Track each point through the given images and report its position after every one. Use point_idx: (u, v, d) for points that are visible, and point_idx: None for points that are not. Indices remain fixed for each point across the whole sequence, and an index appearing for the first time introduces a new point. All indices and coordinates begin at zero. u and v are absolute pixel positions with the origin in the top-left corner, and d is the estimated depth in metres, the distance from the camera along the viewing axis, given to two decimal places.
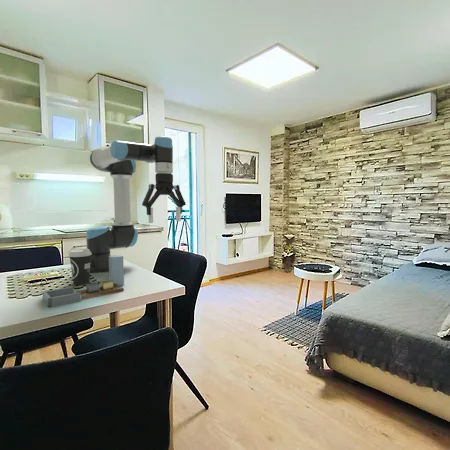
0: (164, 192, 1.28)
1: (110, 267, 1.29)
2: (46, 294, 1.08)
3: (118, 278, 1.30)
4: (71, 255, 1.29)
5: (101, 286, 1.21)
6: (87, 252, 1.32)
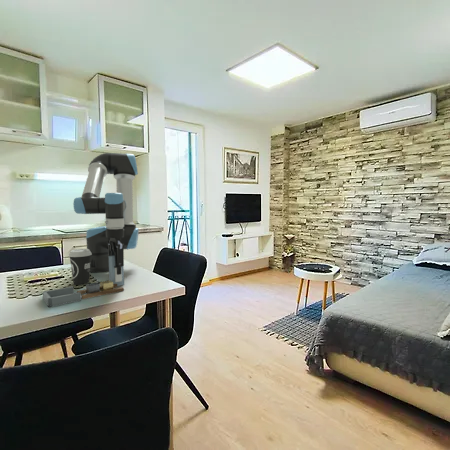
0: (112, 246, 1.29)
1: (110, 267, 1.29)
2: (46, 294, 1.08)
3: None
4: (71, 255, 1.29)
5: (101, 286, 1.21)
6: (87, 252, 1.32)
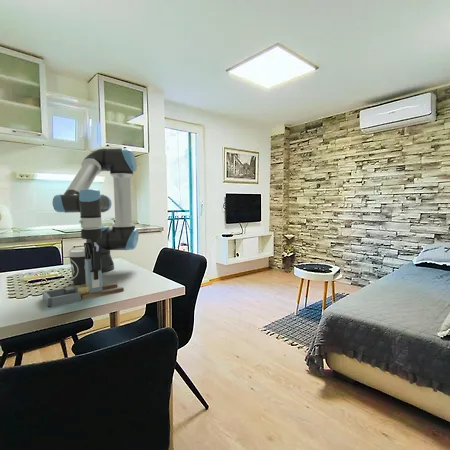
0: (88, 249, 1.17)
1: (86, 272, 1.16)
2: (46, 294, 1.08)
3: None
4: (71, 255, 1.29)
5: None
6: None
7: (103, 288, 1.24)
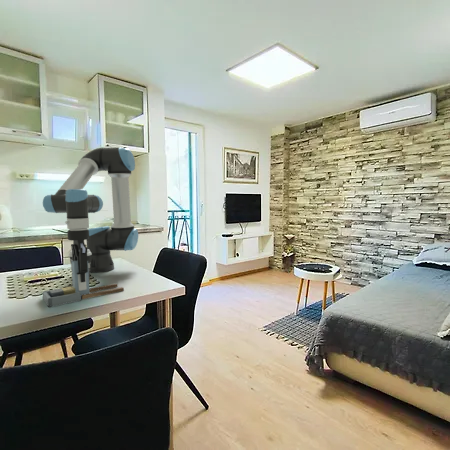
0: None
1: (73, 274, 1.13)
2: (46, 294, 1.08)
3: None
4: (71, 255, 1.29)
5: None
6: (87, 252, 1.32)
7: (103, 288, 1.24)
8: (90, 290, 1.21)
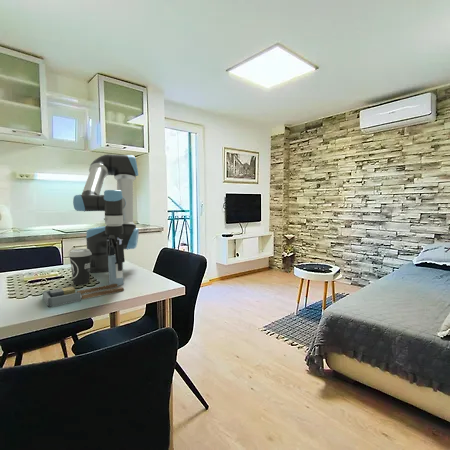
0: (111, 243, 1.30)
1: (110, 267, 1.29)
2: (46, 294, 1.08)
3: (118, 278, 1.30)
4: (71, 255, 1.29)
5: None
6: (87, 252, 1.32)
7: (103, 288, 1.24)
8: (90, 290, 1.21)
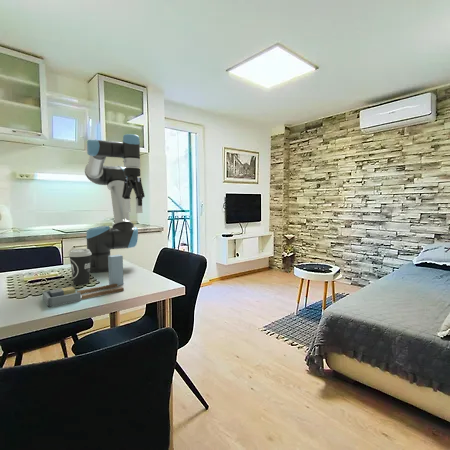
0: (129, 185, 1.41)
1: (110, 267, 1.29)
2: (46, 294, 1.08)
3: (118, 278, 1.30)
4: (71, 255, 1.29)
5: None
6: (87, 252, 1.32)
7: (103, 288, 1.24)
8: (90, 290, 1.21)
